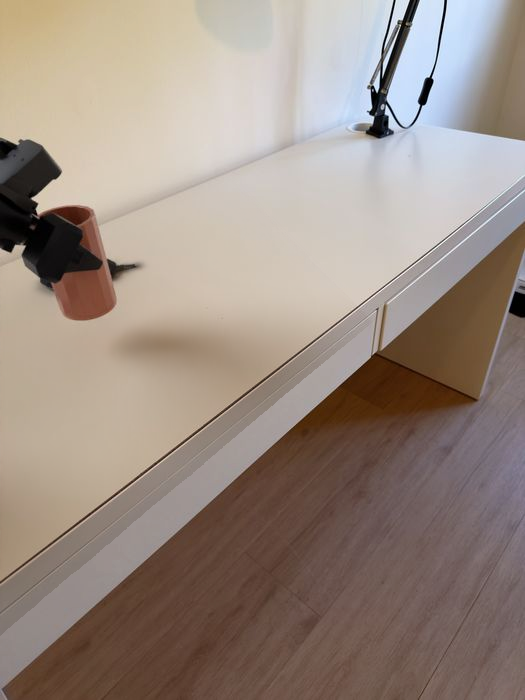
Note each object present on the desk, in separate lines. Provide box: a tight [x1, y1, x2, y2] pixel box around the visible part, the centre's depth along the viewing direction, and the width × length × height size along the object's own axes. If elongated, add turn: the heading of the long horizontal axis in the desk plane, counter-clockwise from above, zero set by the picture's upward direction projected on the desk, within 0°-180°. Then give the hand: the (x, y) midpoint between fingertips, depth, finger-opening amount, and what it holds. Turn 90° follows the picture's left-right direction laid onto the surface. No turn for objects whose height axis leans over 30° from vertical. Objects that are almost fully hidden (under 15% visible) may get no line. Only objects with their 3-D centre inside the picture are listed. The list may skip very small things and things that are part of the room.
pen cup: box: [32, 204, 118, 322], centre depth 64 cm, size 7×7×12 cm
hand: (85, 255), depth 64 cm, fingers closed on pen cup, 7 cm apart
